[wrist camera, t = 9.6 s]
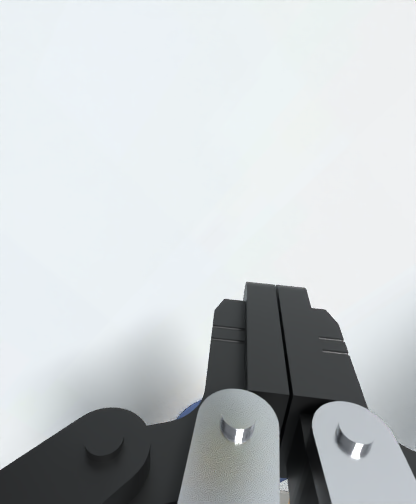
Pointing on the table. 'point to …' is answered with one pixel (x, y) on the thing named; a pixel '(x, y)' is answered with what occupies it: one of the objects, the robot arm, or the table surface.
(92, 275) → the table surface
